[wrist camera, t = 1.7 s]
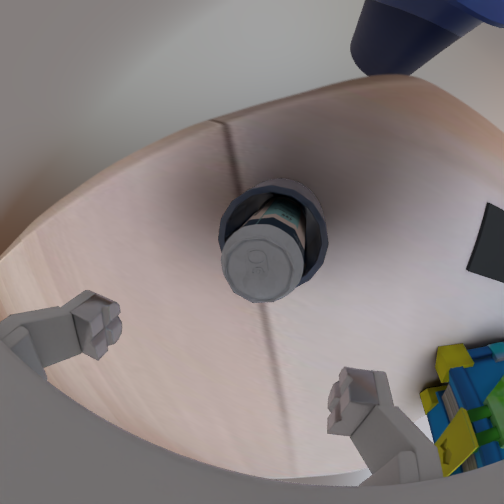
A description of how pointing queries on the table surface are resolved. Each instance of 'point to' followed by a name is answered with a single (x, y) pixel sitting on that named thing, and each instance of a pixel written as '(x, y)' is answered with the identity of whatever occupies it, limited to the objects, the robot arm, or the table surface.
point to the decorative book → (467, 407)
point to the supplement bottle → (267, 252)
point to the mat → (489, 246)
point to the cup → (290, 189)
